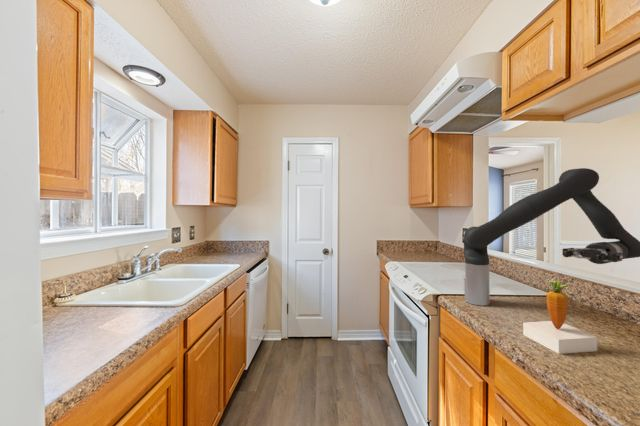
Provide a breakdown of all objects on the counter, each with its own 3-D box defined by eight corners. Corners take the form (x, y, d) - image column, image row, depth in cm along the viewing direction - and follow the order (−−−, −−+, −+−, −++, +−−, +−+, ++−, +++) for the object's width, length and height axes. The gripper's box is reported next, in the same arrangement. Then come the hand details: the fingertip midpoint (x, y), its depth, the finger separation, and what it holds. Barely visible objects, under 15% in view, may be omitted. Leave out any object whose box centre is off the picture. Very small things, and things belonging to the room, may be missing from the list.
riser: (523, 334, 89) (523, 322, 89) (557, 332, 90) (557, 320, 90) (558, 353, 77) (558, 339, 77) (597, 351, 78) (597, 337, 78)
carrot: (557, 325, 86) (556, 277, 86) (573, 332, 81) (572, 282, 81) (542, 326, 86) (541, 278, 86) (557, 333, 81) (556, 282, 81)
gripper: (578, 240, 105) (555, 242, 99) (632, 244, 92) (609, 247, 86) (578, 259, 105) (555, 263, 99) (631, 266, 93) (609, 271, 86)
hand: (580, 256), depth 92 cm, fingers open, 8 cm apart
